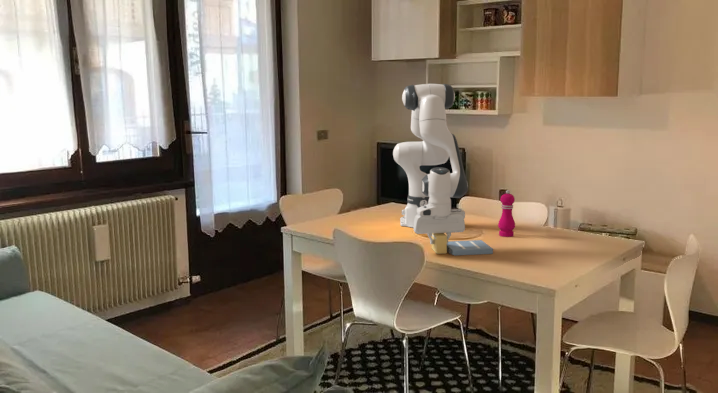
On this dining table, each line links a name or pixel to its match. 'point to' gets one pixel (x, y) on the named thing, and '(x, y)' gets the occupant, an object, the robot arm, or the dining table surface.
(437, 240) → the pale yellow block
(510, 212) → the pepper mill
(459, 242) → the board
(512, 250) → the dining table surface
